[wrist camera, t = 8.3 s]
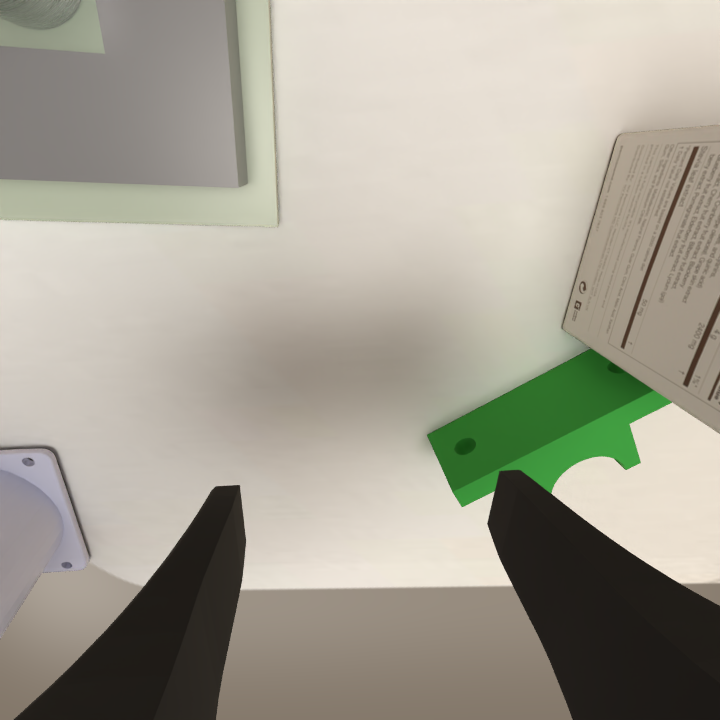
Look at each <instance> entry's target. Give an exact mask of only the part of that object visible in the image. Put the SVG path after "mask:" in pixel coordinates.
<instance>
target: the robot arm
mask: <svg viewBox="0 0 720 720" xmlns="http://www.w3.org/2000/svg"><path fill="white" fill-rule="evenodd" d="M28 458H31V459H33V460H34V461H31V460H29V459H28ZM487 524H488V527H489V530H490V533H491V536H492V539H493V542H494V545H495V547H496V550H497V553H498V555H499V558H500V560H501V562H502V564H503V566H504V569H505V571H506V573H507V575H508V577H509V579H510V581H511V583H512V585H513V587H514V589H515V591H516V593H517V595H518V596H519V598H520V601H521V603H522V604H523V607H524V608H525V611H526V612H527V615H528V616H529V619H530V620H531V622H532V624H533V626H534V628H535V630H536V632H537V634H538V636H539V638H540V640H541V643H542V645H543V647H544V649H545V651H546V653H547V656H548V658H549V660H550V663H551V665H552V668H553V670H554V673H555V675H556V677H557V680H558V683H559V685H560V688H561V690H562V692H563V695H564V697H565V700H566V703H567V705H568V708H569V711H570V713H571V716H572V719H573V720H720V606H719V605H717V604H715V603H713V602H712V601H710V600H708V599H706V598H704V597H702V596H700V595H699V594H697V593H695V592H693V591H692V590H690V589H688V588H686V587H685V586H683V585H681V584H679V583H678V582H676V581H674V580H673V579H671V578H670V577H668V576H666V575H665V574H663V573H662V572H660V571H658V570H657V569H655V568H653V567H652V566H650V565H649V564H647V563H645V562H644V561H642V560H641V559H639V558H638V557H636V556H635V555H633V554H632V553H630V552H629V551H627V550H626V549H624V548H623V547H622V546H620V545H619V544H617V543H616V542H614V541H613V540H612V539H610V538H609V537H607V536H606V535H604V534H603V533H602V532H600V531H599V530H598V529H596V528H595V527H594V526H592V525H591V524H590V523H588V522H587V521H586V520H584V519H583V518H582V517H580V516H579V515H578V514H576V513H575V512H574V511H572V510H571V509H570V508H569V507H567V506H566V505H565V504H563V503H562V502H561V501H560V500H558V499H557V498H556V497H555V496H553V495H552V494H551V493H549V492H548V491H547V490H546V489H544V488H543V487H542V486H541V485H539V484H538V483H537V482H536V481H534V480H533V479H532V478H530V477H529V476H528V475H526V474H525V473H524V472H522V471H521V470H505V471H499V475H498V479H497V484H496V488H495V493H494V497H493V501H492V506H491V510H490V515H489V519H488V523H487ZM245 546H246V537H245V528H244V519H243V510H242V501H241V493H240V485H233V486H216V487H215V488H214V489H213V490H212V491H211V492H210V494H209V496H208V498H207V499H206V501H205V502H204V504H203V506H202V507H201V509H200V510H199V512H198V514H197V515H196V517H195V518H194V520H193V521H192V523H191V524H190V526H189V527H188V529H187V530H186V531H185V533H184V534H183V536H182V537H181V538H180V540H179V541H178V543H177V544H176V545H175V547H174V548H173V550H172V551H171V552H170V554H169V555H168V557H167V558H166V559H165V561H164V562H163V563H162V564H161V566H160V567H159V568H158V569H157V571H156V572H155V573H154V575H153V576H152V577H151V578H150V580H149V581H148V582H147V583H146V585H145V586H144V587H143V588H142V590H141V591H140V592H139V593H138V594H137V596H136V597H135V598H134V599H133V601H132V602H131V603H130V604H129V605H128V606H127V607H126V608H125V610H124V611H123V612H122V613H121V614H120V615H119V616H118V618H117V619H116V620H115V621H114V622H113V623H112V624H111V625H110V626H109V627H108V629H107V630H106V631H105V632H104V633H103V634H102V635H101V636H100V637H99V638H98V639H97V640H96V641H95V642H94V643H93V644H92V645H91V646H90V647H89V648H88V649H87V650H86V652H84V653H83V654H82V656H81V657H80V658H79V659H78V660H77V661H76V662H75V663H74V664H73V665H72V666H71V667H70V668H69V669H68V670H67V671H66V672H65V673H64V674H63V675H61V677H59V678H58V679H57V680H56V681H55V682H54V683H53V684H52V685H51V686H50V687H49V688H48V689H47V690H46V691H45V692H43V693H42V694H41V695H40V696H39V697H38V698H37V699H36V700H35V701H33V702H32V703H31V704H30V705H29V706H28V707H27V708H26V709H25V710H24V711H23V712H21V713H20V715H18V716H17V717H16V718H15V719H14V720H216V714H217V706H218V698H219V692H220V686H221V681H222V675H223V670H224V665H225V660H226V656H227V651H228V646H229V641H230V636H231V632H232V627H233V622H234V617H235V613H236V608H237V603H238V598H239V593H240V588H241V583H242V576H243V567H244V557H245ZM89 561H90V558H89V555H88V552H87V549H86V546H85V543H84V540H83V537H82V534H81V532H80V529H79V526H78V523H77V520H76V517H75V514H74V511H73V508H72V505H71V502H70V499H69V496H68V493H67V490H66V487H65V484H64V481H63V478H62V475H61V472H60V469H59V466H58V463H57V460H56V457H55V455H54V454H53V453H52V452H51V451H50V450H47V449H41V448H40V449H13V450H0V638H1V637H2V635H3V634H4V632H5V631H6V629H7V627H8V626H9V624H10V623H11V621H12V619H13V618H14V616H15V615H16V613H17V612H18V610H19V608H20V607H21V605H22V604H23V602H24V600H25V599H26V597H27V596H28V594H29V592H30V591H31V589H32V588H33V586H34V584H35V583H36V581H37V580H38V578H39V577H40V575H41V573H48V572H61V571H73V570H74V571H75V570H82V569H84V568H86V566H87V565H88V563H89Z"/></svg>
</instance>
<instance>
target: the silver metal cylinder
mask: <svg viewBox="0 0 720 720" xmlns="http://www.w3.org/2000/svg"><path fill="white" fill-rule="evenodd" d="M81 1H82V0H0V18H2V19H4V20H6V21H9V22H11V23H13V24H15V25H18V26H21V27H24V28H28V29H33V30H47V29H52V28H56V27H58V26H60V25H62V24H64V23H65V22H67V21H68V20H69V19H70V18H71V17H72V16H73V15H74V14H75V12H76V11H77V9H78V7H79V5H80V3H81Z"/></svg>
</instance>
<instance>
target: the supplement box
mask: <svg viewBox="0 0 720 720" xmlns="http://www.w3.org/2000/svg"><path fill="white" fill-rule="evenodd" d="M563 330H565V331H566V332H567V333H569V334H570V335H572V336H573V337H575V338H576V339H578V340H579V341H581V342H582V343H584V344H585V345H587V346H588V347H590V348H591V349H593V350H594V351H596V352H598V353H599V354H601V355H602V356H604V357H605V358H607V359H608V360H610V361H611V362H613V363H614V364H616V365H617V366H619V367H620V368H622V369H623V370H625V371H626V372H628V373H629V374H631V375H632V376H634V377H635V378H637V379H638V380H640V381H641V382H643V383H644V384H646V385H647V386H649V387H650V388H652V389H653V390H655V391H656V392H658V393H659V394H661V395H662V396H664V397H665V398H667V399H668V400H670V401H671V402H673V403H674V404H676V405H677V406H679V407H680V408H682V409H683V410H685V411H686V412H688V413H689V414H691V415H692V416H694V417H695V418H697V419H698V420H700V421H701V422H703V423H704V424H706V425H707V426H709V427H710V428H712V429H713V430H715V431H716V432H718V433H719V434H720V125H712V126H701V127H690V128H679V129H667V130H655V131H646V132H633V133H622V134H621V135H620V136H619V137H618V138H617V141H616V144H615V147H614V151H613V154H612V158H611V161H610V165H609V168H608V171H607V175H606V178H605V182H604V185H603V189H602V192H601V196H600V199H599V203H598V206H597V209H596V213H595V216H594V220H593V223H592V226H591V230H590V233H589V237H588V240H587V244H586V247H585V251H584V254H583V258H582V261H581V265H580V268H579V272H578V275H577V279H576V282H575V286H574V289H573V293H572V296H571V300H570V303H569V306H568V310H567V313H566V317H565V320H564V324H563Z"/></svg>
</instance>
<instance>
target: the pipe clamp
mask: <svg viewBox="0 0 720 720" xmlns="http://www.w3.org/2000/svg"><path fill="white" fill-rule="evenodd" d="M670 403H672V402H671V401H670V400H668V399H667V398H665V397H664V396H662V395H661V394H659V393H658V392H656V391H655V390H653V389H652V388H650V387H649V386H647V385H646V384H644V383H643V382H641V381H640V380H638V379H637V378H635V377H634V376H632V375H631V374H629V373H628V372H626V371H625V370H623V369H622V368H620V367H619V366H617V365H616V364H614V363H613V362H611V361H610V360H608V359H607V358H605V357H604V356H602V355H601V354H599V353H598V352H596V351H594V350H593V349H589V350H588V351H586V352H584V353H582V354H580V355H578V356H576V357H574V358H572V359H570V360H569V361H567V362H565V363H563V364H561V365H559V366H557V367H555V368H553V369H551V370H550V371H548V372H546V373H544V374H542V375H540V376H538V377H536V378H534V379H532V380H531V381H529V382H527V383H525V384H523V385H521V386H519V387H517V388H515V389H513V390H512V391H510V392H508V393H506V394H504V395H502V396H500V397H498V398H496V399H494V400H493V401H491V402H489V403H487V404H485V405H483V406H481V407H479V408H477V409H475V410H474V411H472V412H470V413H468V414H466V415H464V416H462V417H460V418H458V419H456V420H455V421H453V422H451V423H449V424H447V425H445V426H443V427H441V428H439V429H437V430H436V431H434V432H432V433H430V434H428V435H427V436H428V438H429V441H430V443H431V445H432V447H433V450H434V452H435V454H436V456H437V458H438V461H439V463H440V465H441V467H442V470H443V472H444V474H445V476H446V478H447V481H448V483H449V485H450V487H451V490H452V492H453V493H454V495H455V497H456V498H457V500H458V501H459V503H460V505H461V506H462V507H464V506H466V505H468V504H470V503H472V502H474V501H476V500H478V499H480V498H482V497H484V496H486V495H488V494H490V493H492V492H494V491H495V488H496V484H497V479H498V475H499V471H505V470H521V471H522V472H524V473H525V474H526V475H528V476H529V477H530V478H532V479H533V480H534V481H536V482H537V483H538V484H539V485H541V486H542V487H543V488H544V489H546V490H547V491H548V492H549V493H551V492H552V489H553V486H554V484H555V483H556V481H557V480H558V478H559V477H560V476H561V475H562V474H563V473H564V472H565V471H566V470H567V469H569V468H570V467H571V466H573V465H575V464H576V463H578V462H580V461H583V460H585V459H588V458H592V457H599V456H605V457H611V458H614V459H615V460H616V461H617V462H618V463H619V464H620V465H621V466H622V467H623V468H624V469H625V470H627V469H629V468H631V467H633V466H635V465H637V464H639V463H641V462H640V458H639V455H638V452H637V448H636V445H635V442H634V438H633V435H632V432H631V428H630V425H629V424H630V423H632V422H634V421H636V420H638V419H640V418H642V417H644V416H646V415H648V414H650V413H652V412H654V411H656V410H658V409H660V408H662V407H664V406H666V405H668V404H670Z"/></svg>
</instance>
